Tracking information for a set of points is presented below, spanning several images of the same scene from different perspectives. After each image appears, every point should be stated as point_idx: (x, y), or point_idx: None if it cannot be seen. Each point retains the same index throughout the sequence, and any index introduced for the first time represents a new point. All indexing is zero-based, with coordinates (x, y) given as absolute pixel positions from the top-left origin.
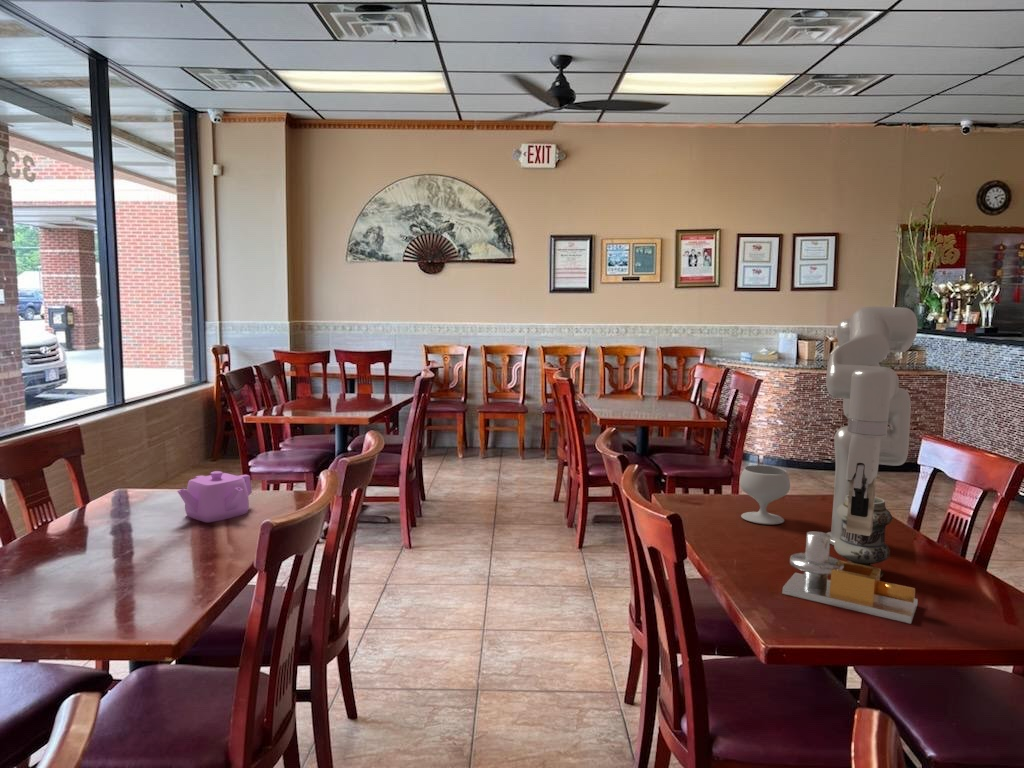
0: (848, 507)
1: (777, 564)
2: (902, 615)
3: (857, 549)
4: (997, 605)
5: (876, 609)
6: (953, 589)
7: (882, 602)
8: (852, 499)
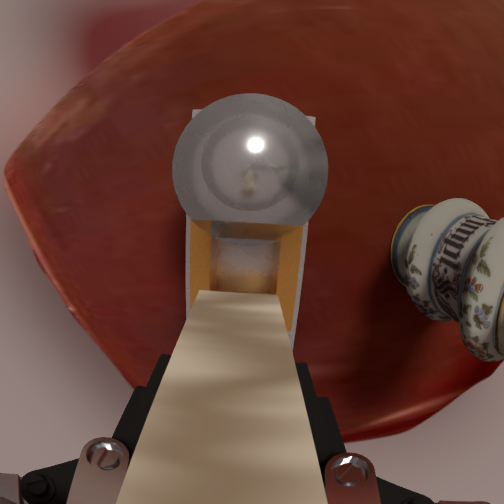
0: (173, 359)
1: (380, 81)
2: None
3: (419, 261)
4: (350, 430)
5: (186, 305)
6: (395, 386)
7: None
8: (134, 421)
